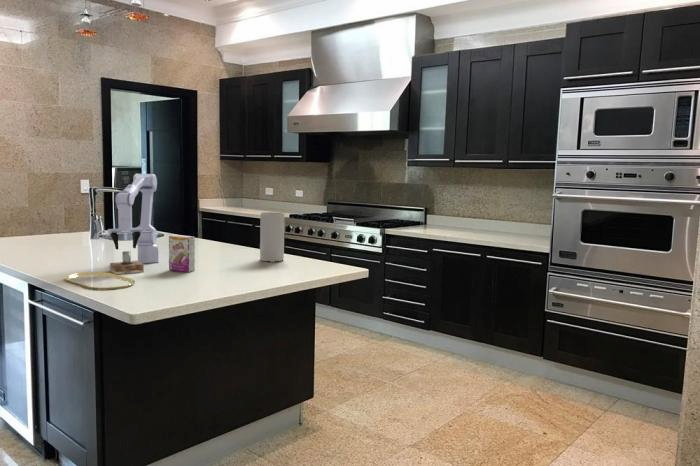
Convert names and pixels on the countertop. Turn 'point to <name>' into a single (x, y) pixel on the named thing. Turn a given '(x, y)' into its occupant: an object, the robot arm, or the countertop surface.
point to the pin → (126, 257)
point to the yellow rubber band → (100, 274)
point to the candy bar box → (181, 253)
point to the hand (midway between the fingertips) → (125, 248)
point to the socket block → (126, 267)
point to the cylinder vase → (272, 236)
